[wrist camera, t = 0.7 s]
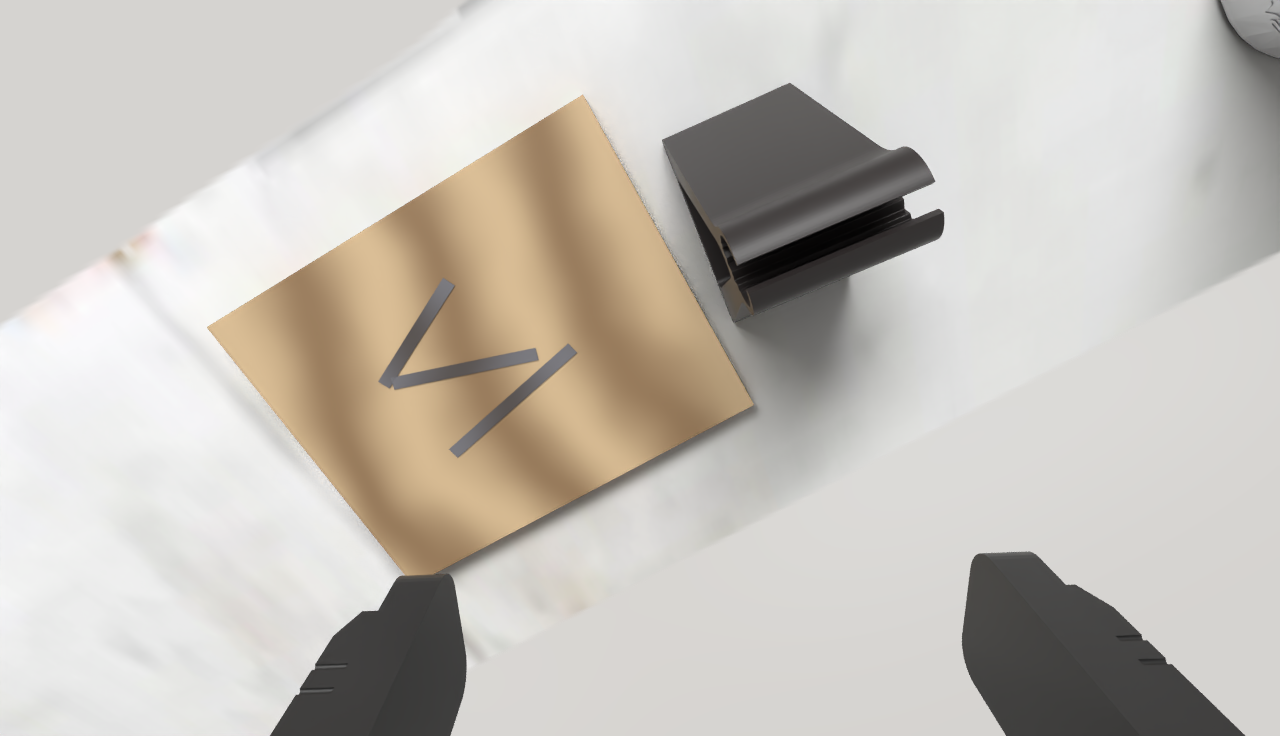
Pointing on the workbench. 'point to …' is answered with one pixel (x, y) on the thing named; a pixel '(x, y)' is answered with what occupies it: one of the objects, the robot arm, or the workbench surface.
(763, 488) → the workbench surface
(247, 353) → the oak board
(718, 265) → the phone stand
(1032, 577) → the robot arm
